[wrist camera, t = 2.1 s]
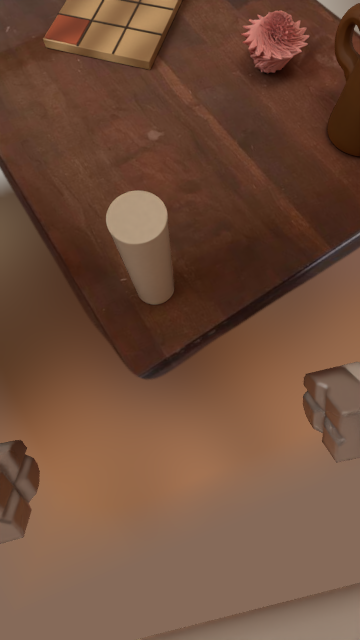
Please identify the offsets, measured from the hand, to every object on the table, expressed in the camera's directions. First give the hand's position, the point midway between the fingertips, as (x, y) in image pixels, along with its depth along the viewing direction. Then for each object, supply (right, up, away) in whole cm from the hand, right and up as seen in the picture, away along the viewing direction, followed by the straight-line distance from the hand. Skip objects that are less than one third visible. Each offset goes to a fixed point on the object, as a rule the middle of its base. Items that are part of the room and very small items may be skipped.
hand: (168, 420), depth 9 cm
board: (-8, +45, +33) cm, 56 cm away
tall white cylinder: (-2, +6, +22) cm, 23 cm away
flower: (+12, +35, +30) cm, 48 cm away
